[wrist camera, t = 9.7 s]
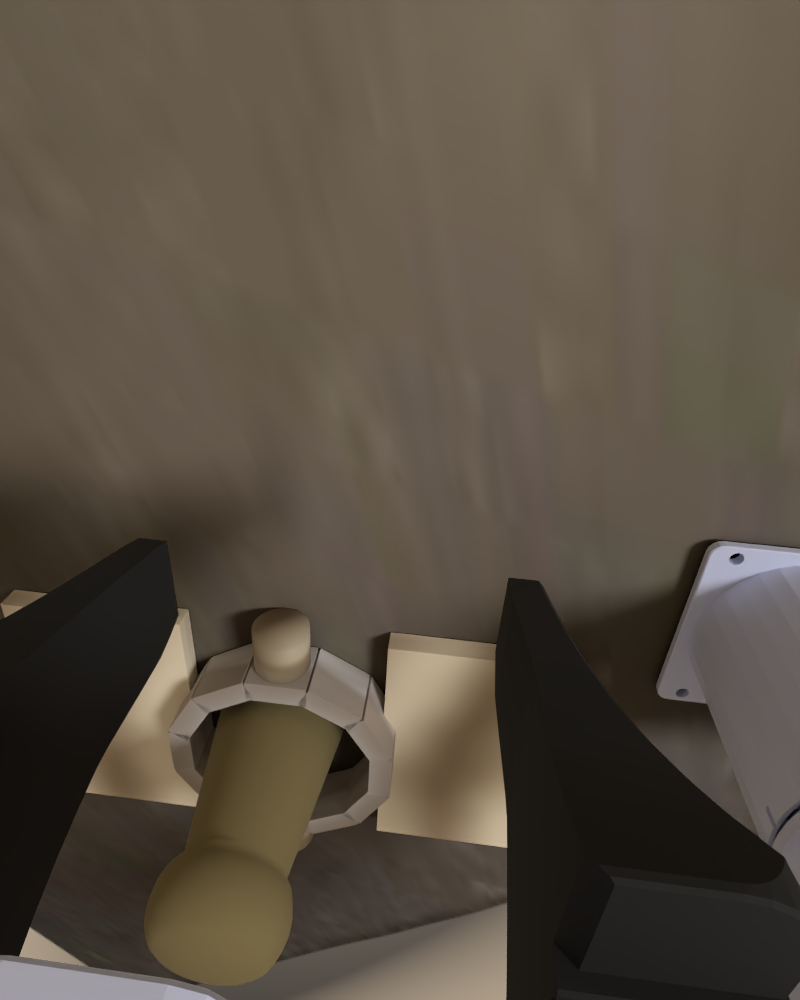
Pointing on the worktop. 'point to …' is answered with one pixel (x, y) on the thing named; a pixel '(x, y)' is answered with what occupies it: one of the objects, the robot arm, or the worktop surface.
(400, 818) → the hinge base
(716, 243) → the worktop surface
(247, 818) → the cork
